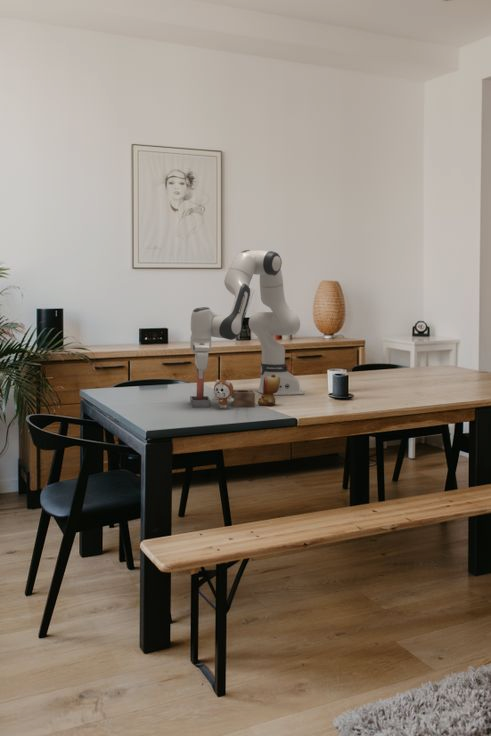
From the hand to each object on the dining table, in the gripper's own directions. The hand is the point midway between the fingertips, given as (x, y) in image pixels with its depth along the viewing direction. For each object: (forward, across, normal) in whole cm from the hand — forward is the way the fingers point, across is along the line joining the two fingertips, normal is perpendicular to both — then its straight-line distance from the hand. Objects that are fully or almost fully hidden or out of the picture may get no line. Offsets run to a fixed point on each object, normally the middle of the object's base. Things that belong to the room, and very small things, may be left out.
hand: (200, 377), depth 296 cm
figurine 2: (+12, 0, +30) cm, 32 cm away
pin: (+9, 0, 0) cm, 9 cm away
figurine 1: (+12, +9, +9) cm, 17 cm away
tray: (+12, 0, 0) cm, 12 cm away
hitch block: (+12, +1, +18) cm, 22 cm away
